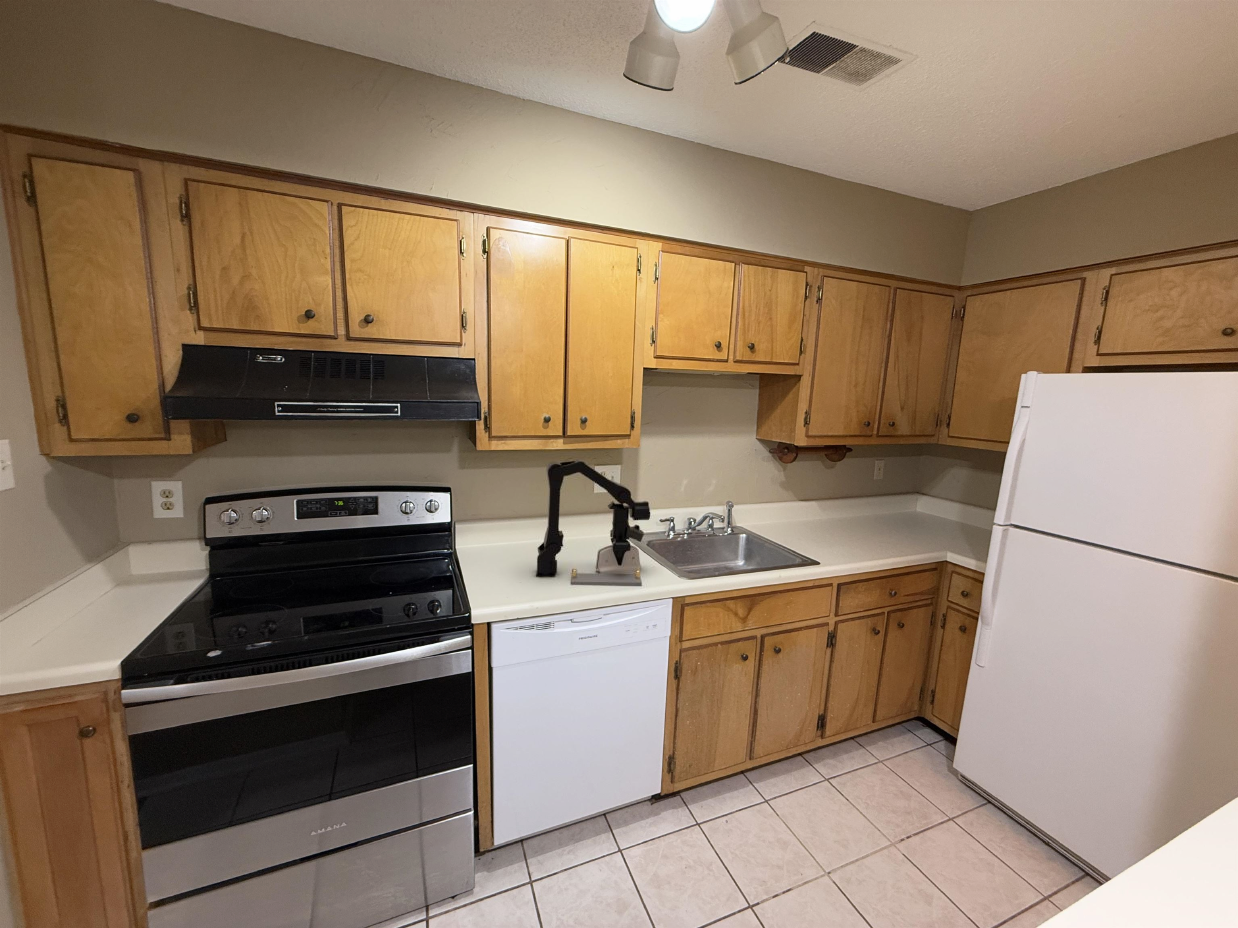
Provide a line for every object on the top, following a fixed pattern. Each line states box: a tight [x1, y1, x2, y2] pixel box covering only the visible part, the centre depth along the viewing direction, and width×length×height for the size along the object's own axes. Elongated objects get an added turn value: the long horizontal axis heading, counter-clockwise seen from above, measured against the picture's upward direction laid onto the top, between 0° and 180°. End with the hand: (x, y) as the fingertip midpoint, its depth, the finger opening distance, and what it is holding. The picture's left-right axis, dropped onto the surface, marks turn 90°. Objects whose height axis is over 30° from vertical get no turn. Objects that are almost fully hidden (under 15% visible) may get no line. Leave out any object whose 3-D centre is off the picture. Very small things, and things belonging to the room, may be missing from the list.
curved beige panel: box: [595, 544, 642, 574], centre depth 183 cm, size 17×5×10 cm, turn 112°
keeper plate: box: [570, 568, 643, 587], centre depth 173 cm, size 24×8×4 cm, turn 94°
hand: (619, 562), depth 183 cm, fingers open, 7 cm apart
